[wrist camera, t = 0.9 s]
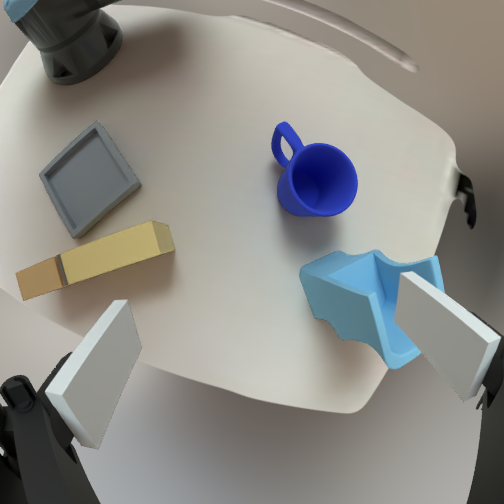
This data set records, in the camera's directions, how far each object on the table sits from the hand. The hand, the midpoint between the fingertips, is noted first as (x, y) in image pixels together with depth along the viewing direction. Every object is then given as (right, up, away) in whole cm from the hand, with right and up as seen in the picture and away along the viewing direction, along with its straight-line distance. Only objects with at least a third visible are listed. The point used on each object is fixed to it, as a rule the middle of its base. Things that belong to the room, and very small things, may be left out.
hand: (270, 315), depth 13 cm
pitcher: (+10, -2, +28) cm, 30 cm away
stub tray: (-24, +13, +23) cm, 36 cm away
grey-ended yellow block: (-17, +3, +24) cm, 30 cm away
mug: (+5, +13, +26) cm, 30 cm away
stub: (-27, 0, +23) cm, 35 cm away
